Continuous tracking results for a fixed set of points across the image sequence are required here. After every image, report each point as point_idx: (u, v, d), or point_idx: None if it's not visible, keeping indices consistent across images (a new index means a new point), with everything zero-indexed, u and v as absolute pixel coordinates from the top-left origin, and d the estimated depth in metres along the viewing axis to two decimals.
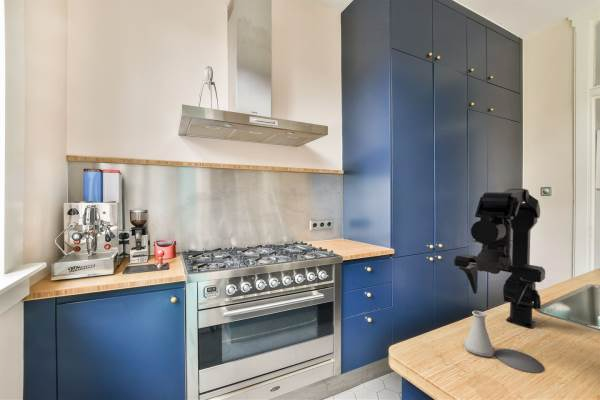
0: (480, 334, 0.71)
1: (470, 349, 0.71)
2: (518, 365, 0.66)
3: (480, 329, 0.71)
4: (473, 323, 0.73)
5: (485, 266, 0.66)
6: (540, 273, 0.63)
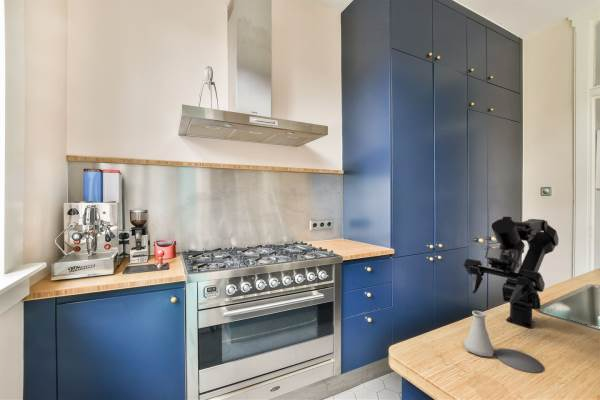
0: (480, 334, 0.71)
1: (470, 349, 0.71)
2: (518, 365, 0.66)
3: (480, 330, 0.71)
4: (473, 323, 0.73)
5: (494, 252, 0.77)
6: (540, 274, 0.71)
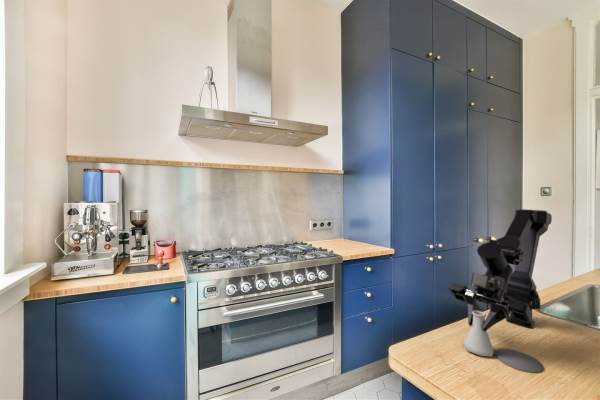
0: (480, 334, 0.71)
1: (470, 349, 0.71)
2: (518, 365, 0.66)
3: (480, 329, 0.71)
4: (473, 323, 0.73)
5: (479, 279, 0.73)
6: (527, 305, 0.67)
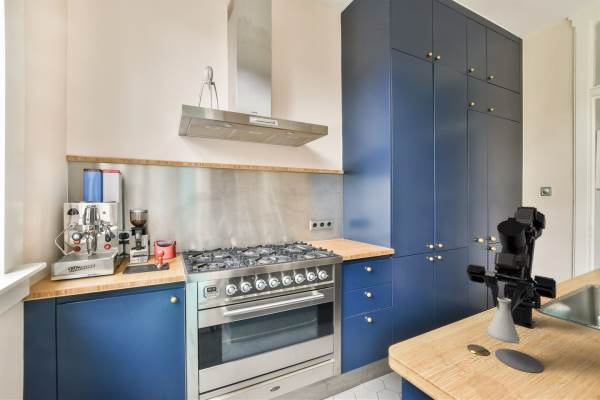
0: (506, 321, 0.68)
1: (495, 336, 0.68)
2: (518, 365, 0.66)
3: (506, 316, 0.69)
4: (498, 309, 0.70)
5: (505, 258, 0.69)
6: (555, 281, 0.65)
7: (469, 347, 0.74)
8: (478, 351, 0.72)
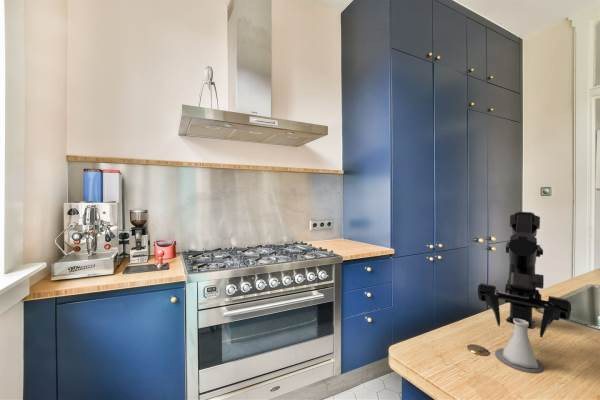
0: (525, 344, 0.66)
1: (515, 361, 0.66)
2: (518, 365, 0.66)
3: (524, 339, 0.67)
4: (515, 332, 0.68)
5: (520, 279, 0.68)
6: (570, 302, 0.65)
7: (469, 347, 0.74)
8: (478, 351, 0.72)
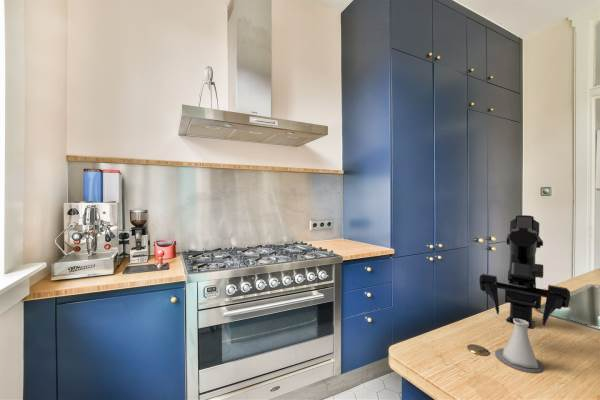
0: (525, 344, 0.66)
1: (515, 361, 0.66)
2: (518, 365, 0.66)
3: (524, 339, 0.67)
4: (515, 332, 0.68)
5: (521, 269, 0.70)
6: (568, 290, 0.67)
7: (469, 347, 0.74)
8: (478, 351, 0.72)
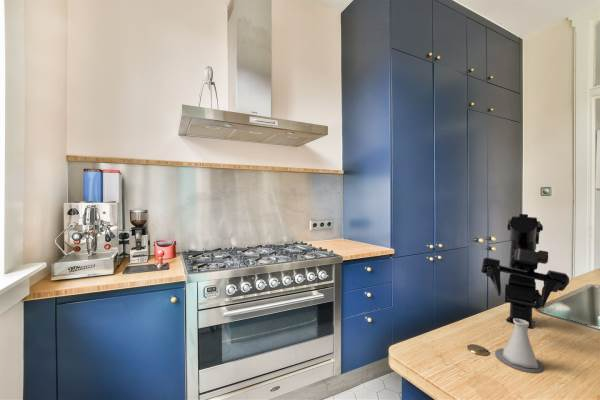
0: (525, 344, 0.66)
1: (515, 361, 0.66)
2: (518, 365, 0.66)
3: (524, 339, 0.67)
4: (515, 332, 0.68)
5: (527, 255, 0.72)
6: (567, 276, 0.71)
7: (469, 347, 0.74)
8: (478, 351, 0.72)
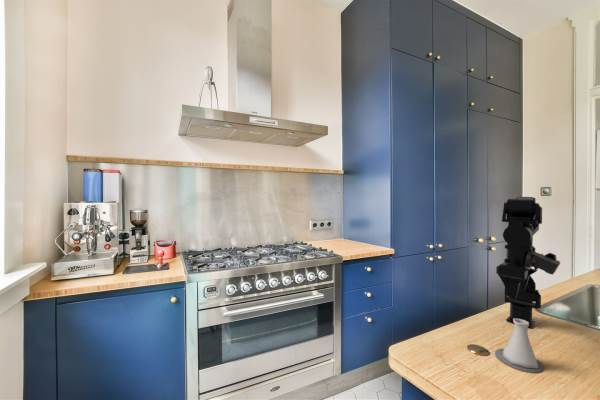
0: (525, 344, 0.66)
1: (515, 361, 0.66)
2: (518, 365, 0.66)
3: (524, 339, 0.67)
4: (515, 332, 0.68)
5: (556, 268, 0.72)
6: None
7: (469, 347, 0.74)
8: (478, 351, 0.72)
